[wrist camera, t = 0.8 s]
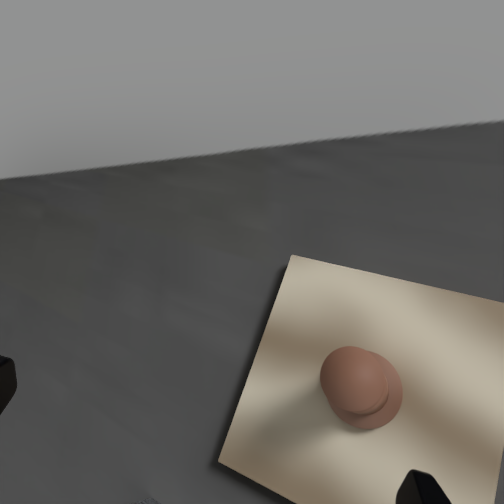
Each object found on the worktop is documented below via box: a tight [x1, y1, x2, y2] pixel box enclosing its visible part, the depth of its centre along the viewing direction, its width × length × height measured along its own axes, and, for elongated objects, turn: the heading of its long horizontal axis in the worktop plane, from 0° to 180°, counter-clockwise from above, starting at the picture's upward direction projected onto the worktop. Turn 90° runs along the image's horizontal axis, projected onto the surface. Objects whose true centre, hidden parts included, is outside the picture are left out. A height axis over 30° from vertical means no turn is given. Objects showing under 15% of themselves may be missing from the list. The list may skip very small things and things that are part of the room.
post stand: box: [218, 255, 504, 504], centre depth 18 cm, size 12×12×6 cm
